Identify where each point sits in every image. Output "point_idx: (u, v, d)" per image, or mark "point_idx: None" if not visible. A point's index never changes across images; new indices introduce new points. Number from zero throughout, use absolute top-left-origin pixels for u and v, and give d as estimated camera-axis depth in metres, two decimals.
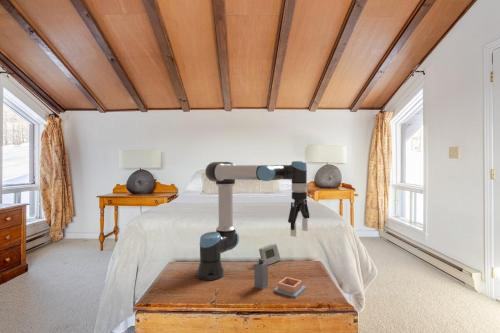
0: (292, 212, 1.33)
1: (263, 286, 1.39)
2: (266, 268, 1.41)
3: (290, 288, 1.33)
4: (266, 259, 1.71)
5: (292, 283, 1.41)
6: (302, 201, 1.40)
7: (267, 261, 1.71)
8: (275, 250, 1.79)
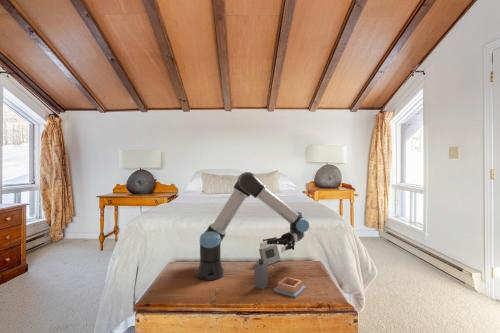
0: None
1: (263, 286, 1.39)
2: (266, 268, 1.41)
3: (290, 288, 1.33)
4: (266, 259, 1.71)
5: (292, 283, 1.41)
6: None
7: (267, 261, 1.71)
8: (275, 250, 1.79)
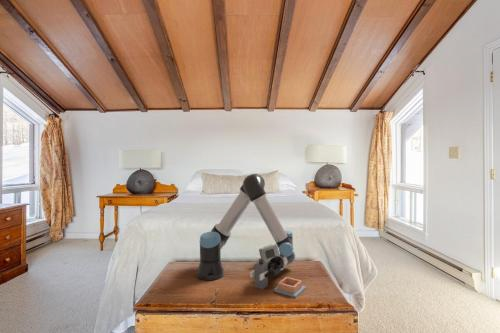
0: (277, 271, 1.44)
1: (263, 286, 1.39)
2: (266, 268, 1.41)
3: (290, 288, 1.33)
4: (266, 259, 1.71)
5: (292, 283, 1.41)
6: None
7: (267, 261, 1.71)
8: (275, 250, 1.78)
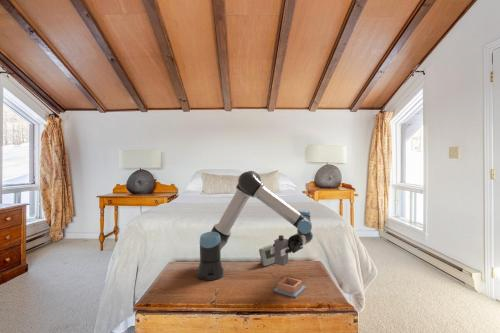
0: (298, 248, 1.41)
1: (284, 262, 1.36)
2: (286, 244, 1.39)
3: (290, 288, 1.33)
4: (266, 259, 1.71)
5: (292, 283, 1.41)
6: None
7: (267, 261, 1.70)
8: None
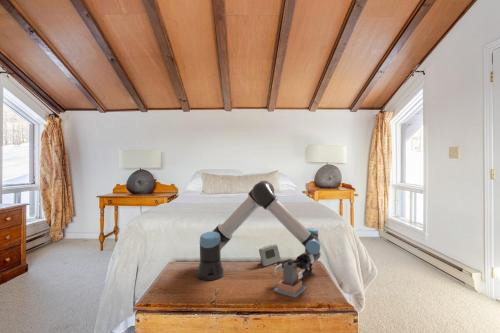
0: None
1: None
2: (295, 269, 1.37)
3: (290, 288, 1.33)
4: (266, 259, 1.70)
5: None
6: None
7: (267, 261, 1.70)
8: (275, 250, 1.78)
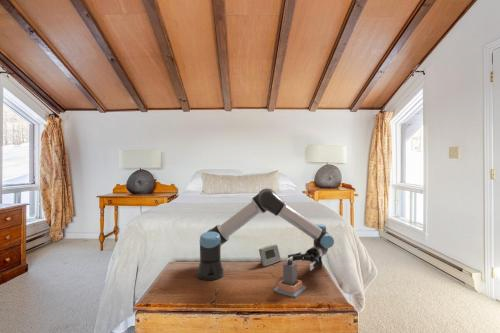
0: None
1: None
2: (295, 269, 1.37)
3: (290, 288, 1.33)
4: (266, 259, 1.70)
5: None
6: None
7: (267, 261, 1.70)
8: (275, 251, 1.78)
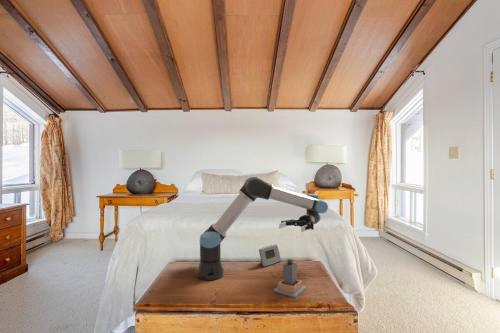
0: None
1: None
2: (295, 269, 1.37)
3: (290, 288, 1.33)
4: (266, 260, 1.70)
5: None
6: None
7: (267, 262, 1.70)
8: (275, 251, 1.78)
